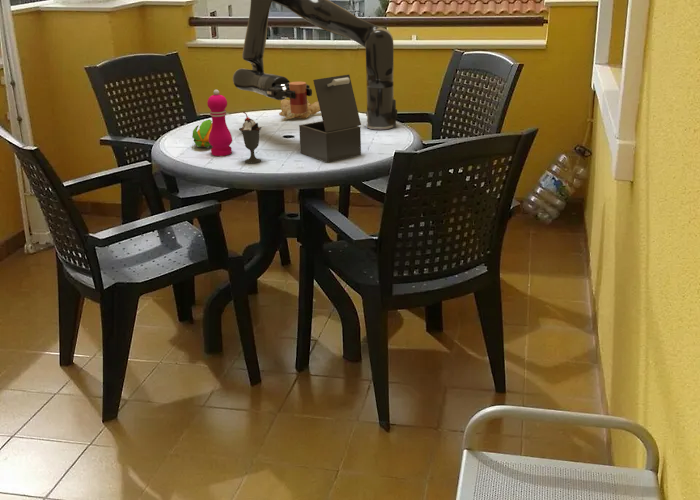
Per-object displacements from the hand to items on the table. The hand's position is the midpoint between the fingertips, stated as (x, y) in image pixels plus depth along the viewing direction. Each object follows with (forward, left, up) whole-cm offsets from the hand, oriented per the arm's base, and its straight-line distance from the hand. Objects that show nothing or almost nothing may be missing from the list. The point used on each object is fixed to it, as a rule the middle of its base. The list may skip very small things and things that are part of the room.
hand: (302, 93), depth 248 cm
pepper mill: (+25, -8, -18) cm, 32 cm away
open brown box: (-6, +7, -18) cm, 20 cm away
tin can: (+1, -2, -6) cm, 7 cm away
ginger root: (-11, -48, -18) cm, 52 cm away
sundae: (+18, +5, -18) cm, 26 cm away
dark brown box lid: (-7, +11, -1) cm, 13 cm away
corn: (+27, -23, -18) cm, 40 cm away
